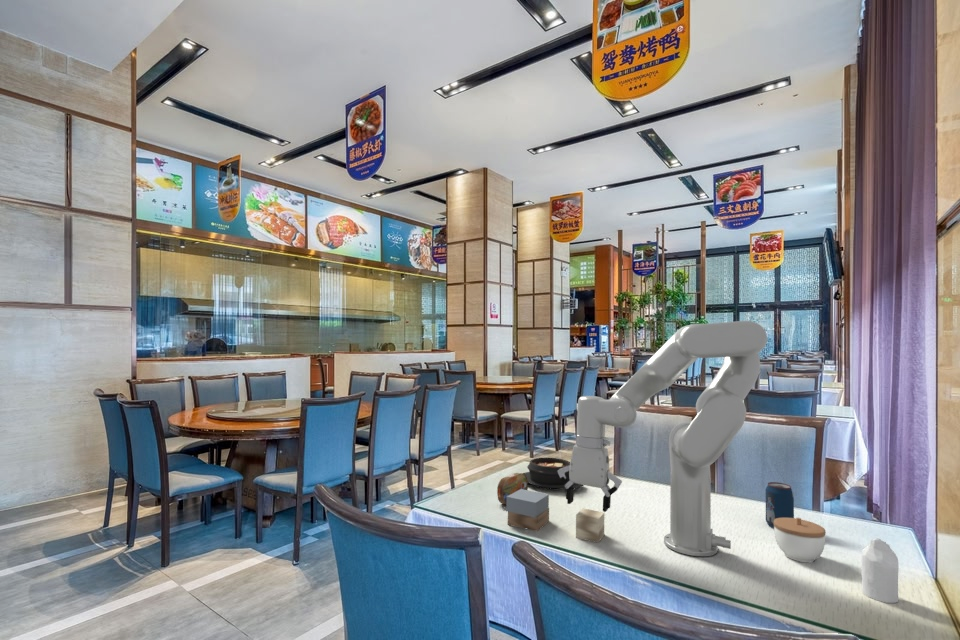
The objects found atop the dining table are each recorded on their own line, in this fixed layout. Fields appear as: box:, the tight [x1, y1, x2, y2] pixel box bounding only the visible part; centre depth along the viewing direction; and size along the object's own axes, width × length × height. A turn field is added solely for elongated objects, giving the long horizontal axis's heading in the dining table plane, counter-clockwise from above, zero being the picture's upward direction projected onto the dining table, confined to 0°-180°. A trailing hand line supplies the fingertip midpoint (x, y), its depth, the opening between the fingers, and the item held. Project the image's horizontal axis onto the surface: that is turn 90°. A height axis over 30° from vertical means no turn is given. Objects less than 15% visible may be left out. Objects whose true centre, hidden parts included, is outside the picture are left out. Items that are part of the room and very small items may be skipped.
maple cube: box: [575, 508, 605, 543], centre depth 129 cm, size 6×6×6 cm
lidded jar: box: [773, 517, 826, 563], centre depth 119 cm, size 11×11×9 cm
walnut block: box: [507, 508, 550, 532], centre depth 138 cm, size 9×9×4 cm
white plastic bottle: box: [861, 538, 899, 604], centre depth 100 cm, size 6×12×6 cm
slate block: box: [505, 489, 550, 518], centre depth 138 cm, size 9×9×4 cm
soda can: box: [765, 481, 795, 530], centre depth 139 cm, size 7×7×12 cm
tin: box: [496, 472, 529, 505], centre depth 157 cm, size 15×3×8 cm, turn 143°
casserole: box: [523, 457, 585, 490], centre depth 176 cm, size 25×19×8 cm
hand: (587, 506), depth 129 cm, fingers open, 9 cm apart
